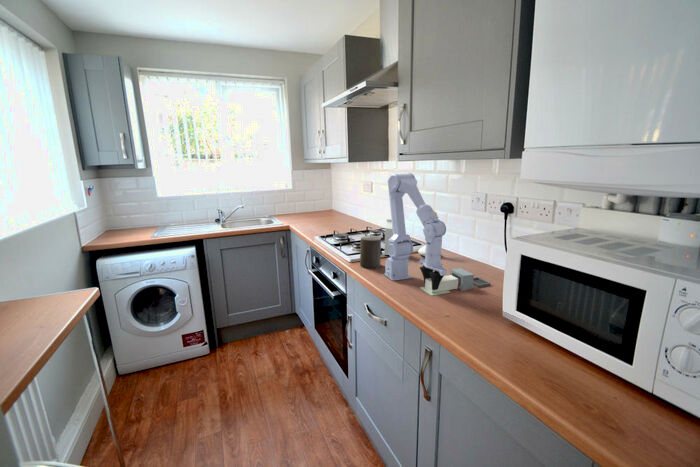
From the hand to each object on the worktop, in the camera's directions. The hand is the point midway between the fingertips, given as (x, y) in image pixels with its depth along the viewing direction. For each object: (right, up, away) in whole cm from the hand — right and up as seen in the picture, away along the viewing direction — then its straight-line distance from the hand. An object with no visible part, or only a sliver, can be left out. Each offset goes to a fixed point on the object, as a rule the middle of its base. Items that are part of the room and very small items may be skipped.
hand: (431, 286), depth 123 cm
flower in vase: (+11, +9, +47) cm, 49 cm away
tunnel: (+13, 0, +5) cm, 14 cm away
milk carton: (-9, +9, +47) cm, 49 cm away
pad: (+2, -1, +1) cm, 2 cm away
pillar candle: (-22, +5, +30) cm, 37 cm away
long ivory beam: (+4, -1, +2) cm, 5 cm away
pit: (+21, 0, +8) cm, 23 cm away
